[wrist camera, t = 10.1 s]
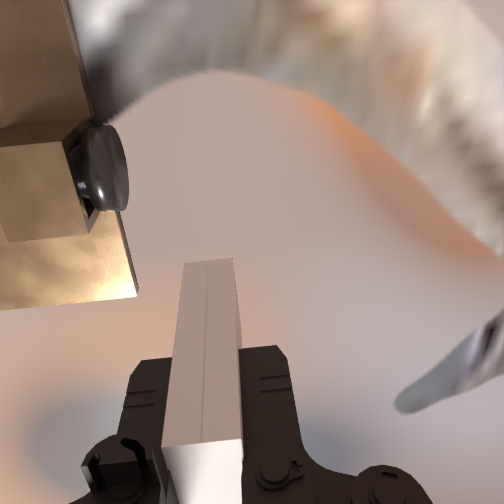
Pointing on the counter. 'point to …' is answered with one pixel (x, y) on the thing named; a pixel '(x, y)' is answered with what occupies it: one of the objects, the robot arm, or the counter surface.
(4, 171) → the brown board
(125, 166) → the pin
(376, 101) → the counter surface
